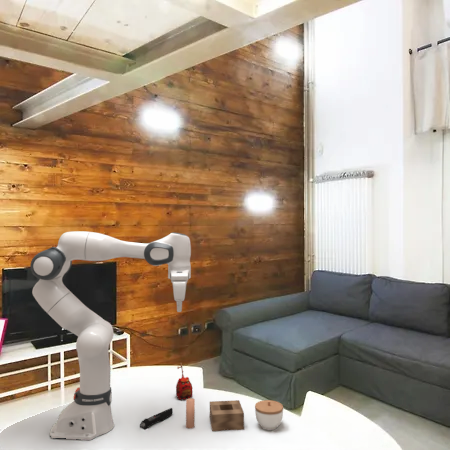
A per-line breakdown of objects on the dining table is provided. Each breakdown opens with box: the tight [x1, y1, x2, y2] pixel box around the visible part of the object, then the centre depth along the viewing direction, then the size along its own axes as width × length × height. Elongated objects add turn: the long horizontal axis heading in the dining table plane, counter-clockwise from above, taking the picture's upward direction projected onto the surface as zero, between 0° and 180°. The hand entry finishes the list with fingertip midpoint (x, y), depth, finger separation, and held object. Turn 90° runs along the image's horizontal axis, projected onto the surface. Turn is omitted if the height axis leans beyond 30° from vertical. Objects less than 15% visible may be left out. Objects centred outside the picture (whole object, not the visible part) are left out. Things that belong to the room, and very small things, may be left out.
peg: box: [185, 398, 196, 430], centre depth 149 cm, size 3×3×10 cm
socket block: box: [209, 400, 245, 432], centre depth 152 cm, size 12×12×6 cm
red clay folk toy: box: [175, 363, 194, 401], centre depth 177 cm, size 8×7×15 cm
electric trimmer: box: [139, 407, 174, 430], centre depth 153 cm, size 4×16×3 cm, turn 142°
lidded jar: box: [254, 399, 284, 431], centre depth 149 cm, size 11×11×9 cm
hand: (179, 309), depth 153 cm, fingers open, 8 cm apart
